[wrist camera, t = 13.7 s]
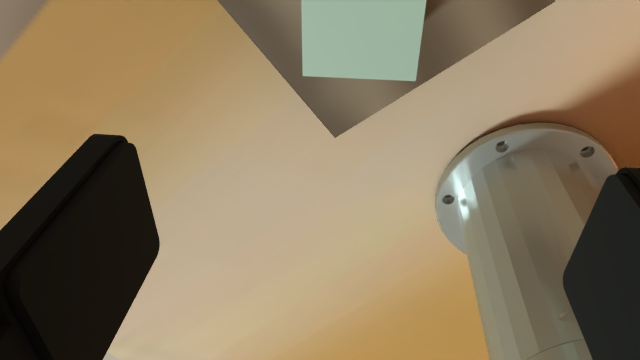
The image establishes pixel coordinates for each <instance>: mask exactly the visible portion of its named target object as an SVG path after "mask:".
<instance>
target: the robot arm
mask: <svg viewBox="0 0 640 360" xmlns="http://www.w3.org/2000/svg"><path fill="white" fill-rule="evenodd" d="M435 208H436V213H437V220H438V222H439V225H440V227H441V230H442V232H443V233H444V235H445V236H446V237H447V239H448V240H449V241H450V242H451V243H452V244H453V245H454V246H455V247H456V248H457V249H459V250H460V251H462V252H463V253H465V254H467V257H468V262H469V266H470V271H471V275H472V280H473V285H474V289H475V294H476V299H477V303H478V308H479V313H480V317H481V322H482V327H483V331H484V336H485V341H486V345H487V350H488V354H489V359H490V360H640V169H639V168H622V169H620V170H618V167H617V165H616V164H615V162H614V160H613V158H612V157H611V155H610V154H609V153H608V151H607V150H606V149H605V148H604V146H603V145H602V144H601V143H600V142H599V141H597V140H596V139H595V138H593V137H592V136H591V135H589V134H587V133H585V132H583V131H581V130H578V129H576V128H574V127H570V126H565V125H561V124H557V123H539V122H538V123H528V124H519V125H515V126H511V127H507V128H503V129H500V130H497V131H495V132H493V133H490V134H488V135H486V136H483V137H482V138H480V139H478V140H477V141H475V142H474V143H472V144H470V145H469V146H467V147H466V148H465V149H464V150H463V151H462V152H460V153H459V154H458V155H457V156H456V157H455V158H454V159H453V160H452V162H451V163H450V164H449V165H448V167H447V168H446V169H445V171H444V173H443V175H442V177H441V179H440V181H439V183H438V187H437V191H436V199H435ZM158 251H159V236H158V233H157V229H156V225H155V221H154V217H153V213H152V209H151V205H150V201H149V197H148V193H147V189H146V185H145V181H144V178H143V174H142V170H141V166H140V162H139V158H138V154H137V150H136V147H135V146H134V144H132V143H128V141H127V139H126V138H125V137H123V136H120V135H104V134H93V135H92V136H90V137H89V138H88V139H87V140H86V141H85V142H84V143H83V145H82V146H81V147H80V148H79V149H78V150H77V151H76V152H75V153H74V154H73V155H72V156H71V157H70V158H69V159H68V160H67V161H66V162H65V163H64V164H63V165H62V167H61V168H60V169H59V170H58V171H57V172H56V173H55V174H54V175H53V176H52V177H51V178H50V179H49V180H48V181H47V182H46V183H45V184H44V185H43V186H42V187H41V189H40V190H39V191H38V192H37V193H36V194H35V195H34V196H33V197H32V198H31V199H30V200H29V201H28V202H27V203H26V204H25V205H24V206H23V207H22V208H21V209H20V210H19V212H18V213H17V214H16V215H15V216H14V217H13V218H12V219H11V220H10V221H9V222H8V223H7V224H6V225H5V226H4V227H3V228H2V229H1V230H0V360H103V358H104V356H105V354H106V352H107V350H108V348H109V347H110V345H111V343H112V341H113V339H114V337H115V335H116V333H117V331H118V329H119V328H120V326H121V324H122V322H123V320H124V318H125V316H126V314H127V312H128V310H129V308H130V307H131V305H132V303H133V301H134V299H135V297H136V295H137V293H138V291H139V289H140V288H141V286H142V284H143V282H144V280H145V278H146V276H147V274H148V272H149V270H150V269H151V267H152V265H153V263H154V261H155V259H156V257H157V255H158Z"/></svg>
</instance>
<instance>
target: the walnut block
mask: <svg viewBox="0 0 640 360" xmlns="http://www.w3.org/2000/svg"><path fill="white" fill-rule="evenodd" d="M218 1H219V3H220V4H221V5H222V6H223V7H224V8H225V10H226V11H227V12H228V13H229V14H230V15H231V17H232V18H233V19H234V20H235V21H236V22H237V24H238V25H239V26H240V27H241V28H242V29H243V31H244V32H245V33H246V34H247V35H248V37H249V38H250V39H251V40H252V41H253V42H254V44H255V45H256V46H257V47H258V48H259V49H260V51H261V52H262V53H263V54H264V55H265V56H266V58H267V59H268V60H269V61H270V62H271V63H272V65H273V66H274V67H275V68H276V69H277V70H278V72H279V73H280V74H281V75H282V76H283V78H284V79H285V80H286V81H287V82H288V83H289V85H290V86H291V87H292V88H293V89H294V90H295V92H296V93H297V94H298V95H299V96H300V97H301V99H302V100H303V101H304V102H305V103H306V104H307V106H308V107H309V108H310V109H311V110H312V111H313V113H314V114H315V115H316V116H317V117H318V118H319V120H320V121H321V122H322V123H323V124H324V126H325V127H326V128H327V129H328V130H329V131H330V133H331V134H332V135H333V136H334V137H335V138H336V137H337V136H339V135H340V134H342V133H344V132H345V131H347V130H349V129H350V128H352V127H353V126H355V125H357V124H358V123H360V122H361V121H363V120H365V119H366V118H368V117H370V116H371V115H373V114H374V113H376V112H378V111H379V110H381V109H382V108H384V107H386V106H387V105H389V104H390V103H392V102H394V101H395V100H397V99H399V98H400V97H402V96H403V95H405V94H407V93H408V92H410V91H411V90H413V89H415V88H416V87H418V86H420V85H421V84H423V83H424V82H426V81H428V80H429V79H431V78H432V77H434V76H436V75H437V74H439V73H441V72H442V71H444V70H445V69H447V68H449V67H450V66H452V65H453V64H455V63H457V62H458V61H460V60H462V59H463V58H465V57H466V56H468V55H470V54H471V53H473V52H474V51H476V50H478V49H479V48H481V47H482V46H484V45H486V44H487V43H489V42H491V41H492V40H494V39H495V38H497V37H499V36H500V35H502V34H503V33H505V32H507V31H508V30H510V29H512V28H513V27H515V26H516V25H518V24H520V23H521V22H523V21H524V20H526V19H528V18H529V17H531V16H533V15H534V14H536V13H537V12H539V11H541V10H542V9H544V8H545V7H547V6H549V5H550V4H552V3H553V2H555V0H426V8H425V15H424V23H423V30H422V38H421V45H420V53H419V60H418V68H417V75H416V81H400V80H378V79H356V78H333V77H311V76H303V68H302V10H301V0H218Z"/></svg>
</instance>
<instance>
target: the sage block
mask: <svg viewBox="0 0 640 360" xmlns="http://www.w3.org/2000/svg"><path fill="white" fill-rule="evenodd" d="M425 8H426V0H301V10H302V68H303V76H311V77H333V78H356V79H378V80H400V81H416V75H417V68H418V60H419V53H420V45H421V38H422V30H423V23H424V15H425Z"/></svg>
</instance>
